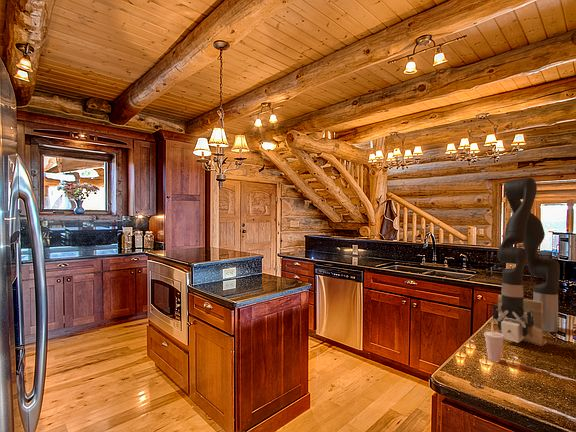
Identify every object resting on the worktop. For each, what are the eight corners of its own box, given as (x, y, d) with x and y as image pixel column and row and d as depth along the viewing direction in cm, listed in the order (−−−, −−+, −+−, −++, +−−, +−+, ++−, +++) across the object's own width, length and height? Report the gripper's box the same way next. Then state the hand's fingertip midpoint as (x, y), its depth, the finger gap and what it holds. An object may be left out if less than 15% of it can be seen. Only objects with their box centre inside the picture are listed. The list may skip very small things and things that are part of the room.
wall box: (510, 332, 141) (509, 316, 140) (526, 336, 136) (525, 320, 135) (500, 338, 136) (500, 322, 136) (517, 343, 131) (516, 326, 131)
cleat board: (504, 332, 149) (504, 293, 148) (546, 343, 135) (546, 300, 135) (495, 336, 144) (495, 295, 144) (538, 348, 130) (538, 303, 130)
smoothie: (485, 355, 124) (485, 318, 124) (505, 359, 120) (505, 322, 120) (482, 360, 119) (482, 323, 119) (503, 365, 115) (503, 326, 115)
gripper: (536, 296, 131) (536, 336, 131) (497, 289, 143) (498, 326, 143) (528, 299, 127) (528, 340, 127) (489, 292, 139) (489, 329, 139)
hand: (512, 332), depth 135 cm, fingers open, 8 cm apart
